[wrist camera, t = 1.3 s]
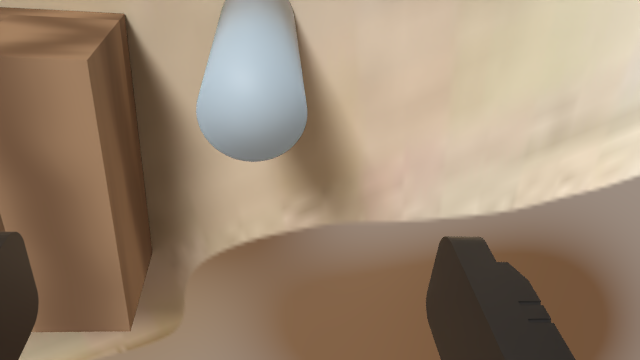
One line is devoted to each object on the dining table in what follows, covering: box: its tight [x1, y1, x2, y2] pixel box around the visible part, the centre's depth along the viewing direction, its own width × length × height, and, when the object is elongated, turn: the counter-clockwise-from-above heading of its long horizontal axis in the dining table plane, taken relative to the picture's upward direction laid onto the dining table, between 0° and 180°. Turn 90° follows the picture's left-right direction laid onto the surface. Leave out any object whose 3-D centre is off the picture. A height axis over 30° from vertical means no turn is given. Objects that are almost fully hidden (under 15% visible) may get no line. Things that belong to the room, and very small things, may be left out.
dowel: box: [196, 0, 307, 162], centre depth 21 cm, size 3×3×10 cm
